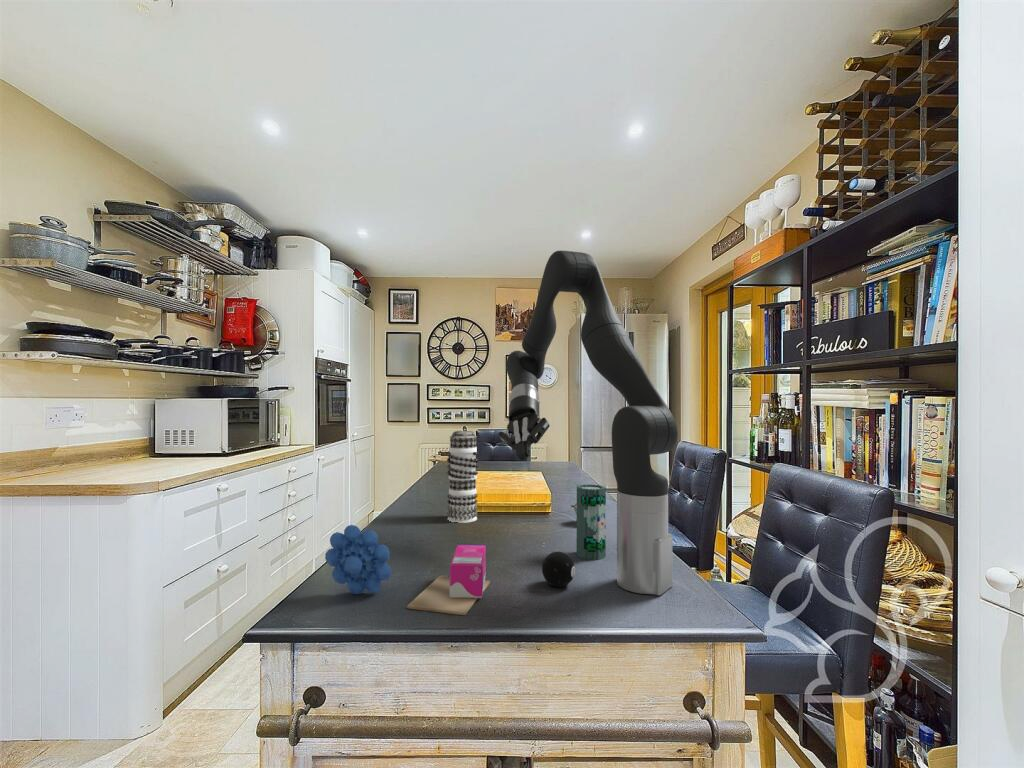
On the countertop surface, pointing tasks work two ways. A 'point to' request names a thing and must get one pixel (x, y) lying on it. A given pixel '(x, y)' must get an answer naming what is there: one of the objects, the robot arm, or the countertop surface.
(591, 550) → the can
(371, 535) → the blue knobbed wheel
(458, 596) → the supplement box
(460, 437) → the grey white cylinder
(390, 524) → the countertop surface
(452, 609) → the brown paper envelope
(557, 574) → the billiard ball
